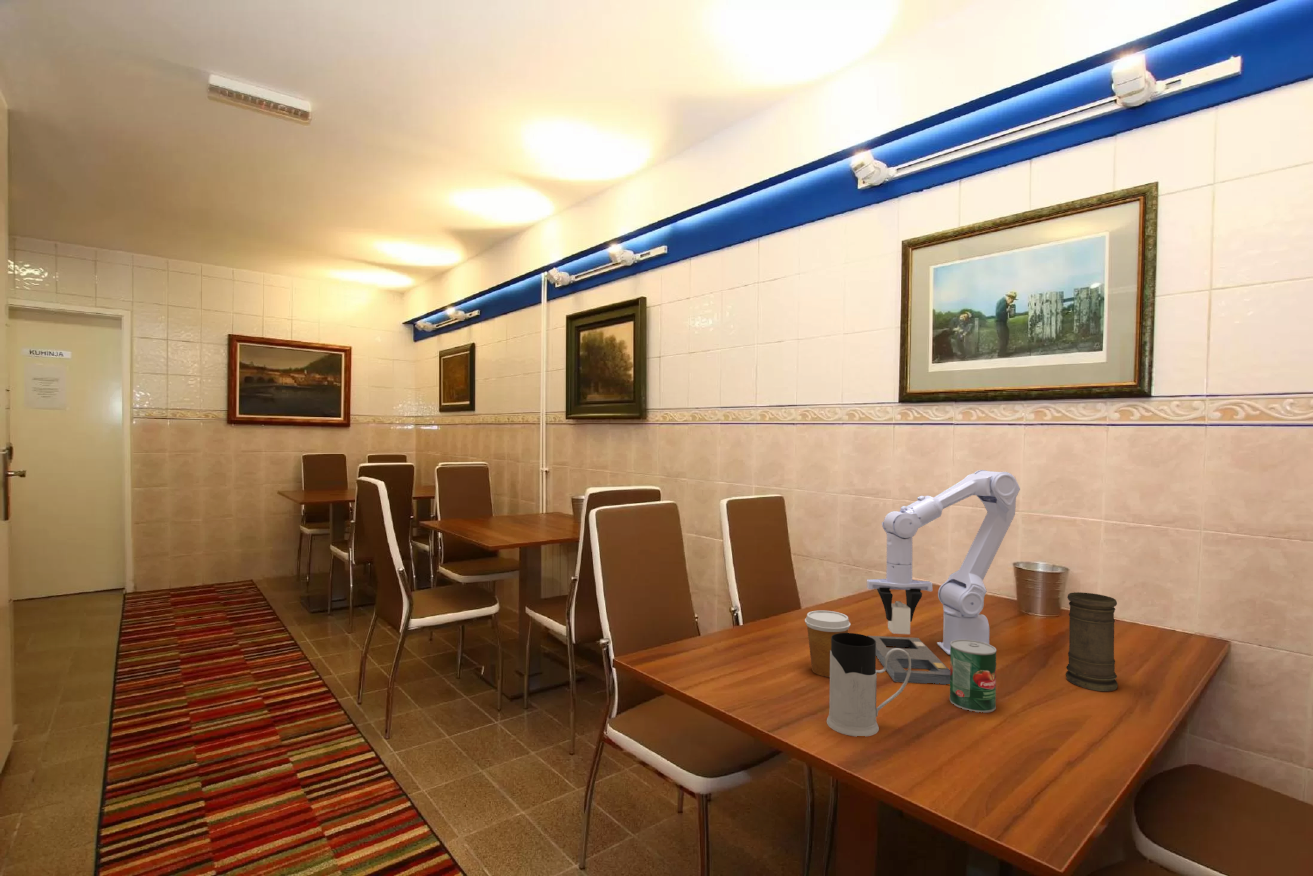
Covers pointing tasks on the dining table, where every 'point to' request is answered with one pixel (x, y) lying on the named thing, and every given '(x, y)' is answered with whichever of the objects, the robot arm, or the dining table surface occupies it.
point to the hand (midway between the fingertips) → (899, 620)
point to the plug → (900, 619)
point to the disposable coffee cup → (823, 637)
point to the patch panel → (919, 660)
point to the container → (1091, 641)
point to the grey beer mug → (856, 684)
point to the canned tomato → (973, 675)
